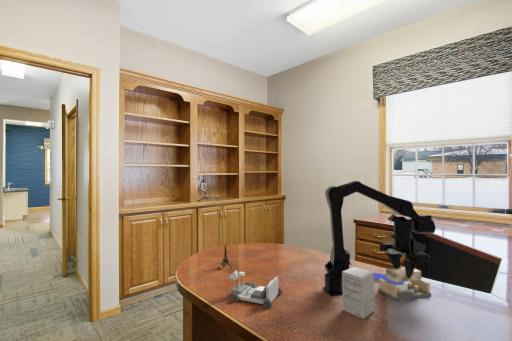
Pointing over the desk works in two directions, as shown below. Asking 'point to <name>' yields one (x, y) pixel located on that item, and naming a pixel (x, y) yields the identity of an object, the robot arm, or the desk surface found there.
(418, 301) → the desk surface
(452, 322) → the desk surface
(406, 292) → the peg base
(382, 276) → the hard drive
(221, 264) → the eiffel tower figurine
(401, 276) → the board
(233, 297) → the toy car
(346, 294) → the supplement box
